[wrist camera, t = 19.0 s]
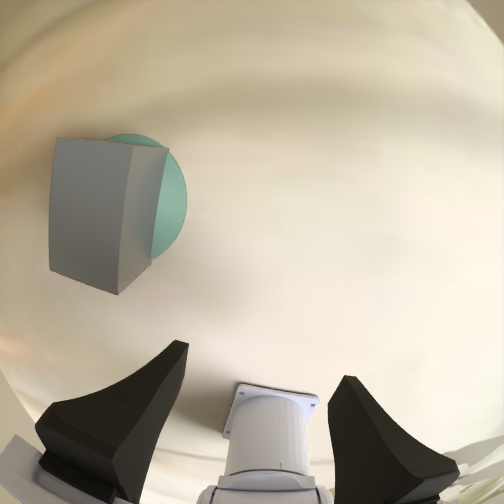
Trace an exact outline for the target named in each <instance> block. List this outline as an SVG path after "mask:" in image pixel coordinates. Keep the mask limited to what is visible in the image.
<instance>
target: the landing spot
mask: <svg viewBox="0 0 504 504" xmlns="http://www.w3.org/2000/svg"><path fill="white" fill-rule="evenodd" d="M108 141H117V142H125V143H132V144H140V145H147V146H153V147H160V148H165V147H163V146H162V145H161V144H159V143H158V142H156V141H154V140H153V139H150V138H148V137H145V136H141V135H136V134H125V135H119V136H115V137H113V138H110V139H108ZM186 207H187V193H186V185H185V181H184V177H183V175H182V172H181V170H180V167H179V166H178V164H177V162H176V160H175V159H174V158H173V156H172V155H171V154H170V153H169V152H168V153H167V158H166V163H165V168H164V173H163V178H162V184H161V189H160V195H159V201H158V207H157V214H156V220H155V227H154V234H153V242H152V250H151V259H153V258H155V257H157V256H158V255H160V254H161V253H163V252H164V251H165V250H166V249H167V248H168V247H169V246H170V245H171V244H172V243H173V242H174V240H175V239H176V237H177V236H178V234H179V232H180V230H181V227H182V225H183V222H184V218H185V214H186ZM151 259H150V260H151Z"/></svg>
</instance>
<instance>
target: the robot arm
mask: <svg viewBox="0 0 504 504" xmlns="http://www.w3.org/2000/svg"><path fill="white" fill-rule="evenodd" d="M188 347H189V343H185V342H182V341H178V340H174V341H173V342H172V343H171V344H170V345H169V346H168V347H167V348H165V349H164V350H163V351H162V352H161V353H160V354H159V355H157V356H156V357H155V358H154V359H152V360H151V361H150V362H149V363H147V364H146V365H145V366H143V367H142V368H140V369H139V370H137V371H136V372H135V373H133V374H131V375H130V376H128V377H126V378H125V379H123V380H121V381H119V382H117V383H115V384H113V385H111V386H109V387H107V388H105V389H102V390H100V391H97V392H94V393H91V394H88V395H85V396H82V397H79V398H75V399H70V400H65V401H59V402H53V403H52V404H51V405H50V406H49V407H48V408H47V409H46V411H45V412H44V413H43V414H42V416H41V417H40V419H39V420H38V421H37V423H36V424H35V430H36V432H37V434H38V436H39V438H40V440H41V441H42V443H43V445H44V446H45V448H46V451H45V452H44V454H42V453H41V452H40V451H39V450H37V449H36V448H35V447H33V446H32V445H30V444H29V443H27V442H26V441H25V440H23V439H22V438H21V437H19V436H18V435H14V437H13V438H12V440H11V441H10V442H9V443H8V445H7V446H6V448H5V449H4V451H3V452H2V453H1V455H0V485H1V486H2V487H3V488H4V489H5V490H7V491H8V492H9V493H10V494H11V495H12V496H14V497H15V498H16V499H17V500H19V501H20V502H21V503H23V504H139V501H140V497H141V493H142V489H143V485H144V482H145V478H146V475H147V472H148V468H149V465H150V462H151V458H152V455H153V452H154V449H155V446H156V443H157V440H158V437H159V435H160V432H161V430H162V428H163V426H164V423H165V421H166V419H167V417H168V415H169V413H170V411H171V409H172V407H173V404H174V402H175V400H176V398H177V396H178V394H179V391H180V388H181V385H182V382H183V378H184V375H185V368H186V361H187V354H188ZM242 392H243V393H242ZM319 401H320V400H319V397H317V396H310V395H303V394H296V393H290V392H283V391H278V390H272V389H266V388H261V387H256V386H251V385H246V384H240V385H239V386H238V388H237V391H236V394H235V397H234V400H233V403H232V407H231V410H230V413H229V416H228V419H227V422H226V425H225V428H224V431H223V434H222V437H223V438H225V439H230V443H229V449H228V455H227V462H226V468H225V474H224V476H219V480H218V486H216V485H210V486H208V487H207V488H206V489H205V490H203V491H202V492H201V494H200V496H199V498H198V501H197V504H437V501H439V500H440V497H439V493H441V492H442V491H443V490H445V489H446V488H447V487H448V486H450V485H451V484H452V483H453V482H454V481H456V479H457V478H458V477H459V475H460V472H459V469H458V467H457V464H456V462H455V460H453V459H450V458H448V457H446V456H444V455H441V454H439V453H437V452H435V451H434V450H432V449H430V448H428V447H427V446H425V445H423V444H422V443H420V442H419V441H418V440H416V439H415V438H413V437H412V436H411V435H410V434H408V433H407V432H406V431H405V430H404V429H402V428H401V427H400V426H399V425H398V424H397V423H396V422H395V421H394V420H393V419H392V418H391V417H390V416H389V415H388V414H387V413H386V412H385V411H384V409H383V408H382V407H381V406H380V405H379V404H378V403H377V401H376V400H375V399H374V398H373V397H372V395H371V394H370V393H369V392H368V390H367V389H366V388H365V387H364V385H363V384H362V383H361V382H360V381H359V380H358V378H357V377H355V376H347V375H344V377H343V379H342V380H341V382H340V384H339V386H338V387H337V389H336V391H335V392H334V394H333V396H332V397H331V399H330V401H329V402H328V424H329V430H330V436H331V442H332V448H333V454H334V462H335V499H334V501H333V497H332V495H331V493H330V491H328V490H327V489H326V488H325V487H324V486H316V487H315V477H314V476H310V463H309V451H308V439H307V428H306V423H307V421H308V420H309V418H310V417H311V415H312V413H313V412H314V410H315V409H316V407H317V405H318V404H319ZM443 504H461V502H460V499H459V498H456V499H453V500H450V501H448V502H445V503H443Z"/></svg>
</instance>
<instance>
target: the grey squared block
mask: <svg viewBox="0 0 504 504" xmlns="http://www.w3.org/2000/svg"><path fill="white" fill-rule="evenodd" d="M168 152H169V149H166V148H160V147H153V146H147V145H140V144H132V143H125V142H117V141H108V140H97V139H80V138H57V140H56V147H55V153H54V161H53V169H52V178H51V189H50V204H49V266H50V270H51V271H53V272H56V273H58V274H61V275H63V276H66V277H68V278H71V279H73V280H76V281H79V282H81V283H84V284H87V285H89V286H92V287H95V288H98V289H100V290H103V291H106V292H109V293H112V294H114V295H119V294H120V293H121V292H122V291H123V290H124V289H125V288H126V287H127V286H128V285H129V284H130V283H131V282H132V281H133V280H135V279H136V278H137V277H138V276H139V275H140V274H141V273H142V272H143V271H144V270H145V269H146V268H148V267H149V266H150V265H151V260H150V259H151V250H152V242H153V234H154V227H155V220H156V214H157V207H158V201H159V195H160V189H161V184H162V178H163V173H164V168H165V163H166V158H167V153H168Z"/></svg>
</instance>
